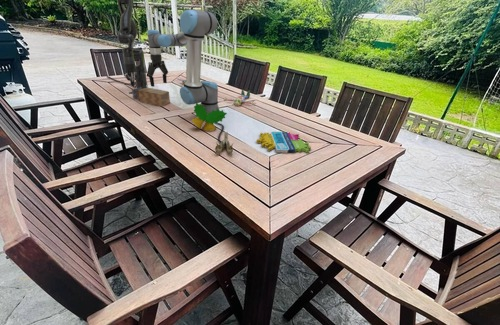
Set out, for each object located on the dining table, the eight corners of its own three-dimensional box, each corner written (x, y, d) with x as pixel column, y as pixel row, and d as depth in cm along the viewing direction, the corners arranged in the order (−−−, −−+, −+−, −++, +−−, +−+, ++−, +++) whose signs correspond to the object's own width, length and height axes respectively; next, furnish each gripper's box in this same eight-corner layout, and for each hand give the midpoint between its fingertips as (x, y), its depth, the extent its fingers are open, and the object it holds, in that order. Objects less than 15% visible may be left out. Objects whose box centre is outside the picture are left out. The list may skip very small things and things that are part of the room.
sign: (313, 150, 142) (258, 149, 139) (312, 153, 143) (258, 152, 140) (301, 132, 164) (254, 130, 161) (301, 134, 165) (254, 133, 162)
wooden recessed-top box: (140, 101, 203) (138, 90, 199) (149, 98, 212) (148, 87, 207) (161, 106, 197) (159, 94, 192) (170, 103, 205) (168, 91, 200)
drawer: (127, 97, 208) (126, 88, 204) (136, 95, 215) (135, 86, 211) (152, 102, 199) (151, 93, 196) (160, 100, 207) (159, 91, 203)
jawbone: (234, 135, 144) (233, 125, 135) (233, 160, 138) (232, 151, 129) (217, 135, 144) (216, 125, 135) (216, 160, 138) (214, 150, 129)
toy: (261, 91, 228) (254, 99, 202) (261, 99, 231) (253, 108, 205) (231, 87, 233) (220, 95, 207) (230, 95, 236) (219, 104, 210)
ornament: (218, 133, 171) (224, 110, 169) (221, 134, 163) (227, 111, 161) (186, 125, 162) (192, 101, 160) (189, 126, 155) (195, 101, 153)
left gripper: (132, 61, 204) (135, 83, 213) (118, 63, 193) (122, 86, 202) (139, 62, 202) (142, 85, 210) (126, 64, 191) (130, 88, 199)
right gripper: (163, 52, 196) (166, 81, 206) (138, 55, 176) (142, 87, 186) (171, 53, 194) (173, 82, 204) (147, 56, 173) (151, 88, 184)
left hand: (133, 85), depth 206 cm, fingers closed
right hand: (159, 84), depth 195 cm, fingers open, 13 cm apart
